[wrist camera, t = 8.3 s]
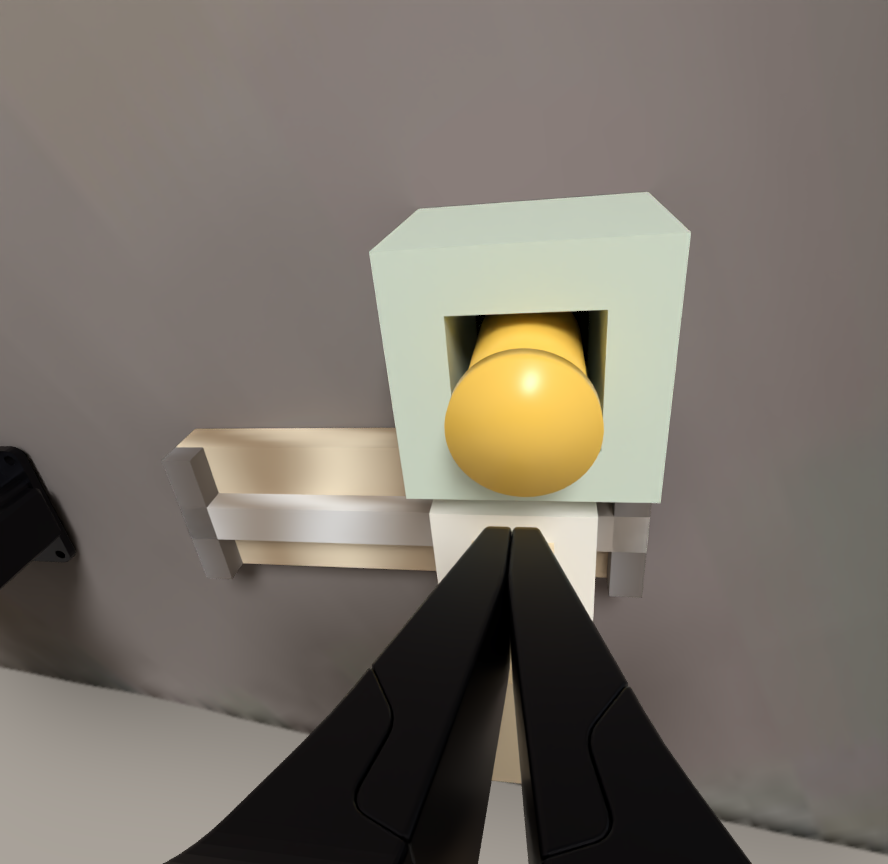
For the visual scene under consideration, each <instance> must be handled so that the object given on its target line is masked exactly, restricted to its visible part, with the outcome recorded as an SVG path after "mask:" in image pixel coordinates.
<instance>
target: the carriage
mask: <svg viewBox="0 0 888 864" xmlns="http://www.w3.org/2000/svg"><path fill="white" fill-rule="evenodd" d="M429 517H430V524H431V532H432V540H433V548H434V555H435V563H436V571H437V578H438V584H439V583H440V582H441V580H442V579H443V578H444V577H445V576H446V574H447V573H448V572H449V571H450V569H451V568H452V567H453V566H454V565H455V563H456V562H457V561H458V560H459V559H460V557H461V556H462V555H463V554H464V552H465V551H466V550H467V549H468V548H469V546H470V545H471V544H472V543H473V542H474V540H475V539H476V538H477V537H478V535H479V534H480V533H481V532H482V531H483V529H484V528H486V527H488V526H503V527H510V528H511V530H512V531H513V529H514V528H515V527H536V528H538V529H539V530H540V531H541V532H542V534H543V536H544V538H545V539H546V541H547V543H548V545H549V546H550V548H551V550H552V552H553V553H554V555H555V557H556V559H557V560H558V562H559V564H560V566H561V567H562V569H563V571H564V572H565V574H566V576H567V578H568V579H569V581H570V583H571V585H572V586H573V588H574V590H575V592H576V593H577V595H578V597H579V599H580V600H581V602H582V604H583V606H584V607H585V609H586V611H587V613H588V614H589V616H590V618H591V620H592V621H593V611H594V590H595V570H596V549H597V528H598V513H597V505H596V502H570V501H512V500H454V499H433V502H432V506H431V509H430V513H429ZM492 781H501V782H510V783H520V784H521V772H520V761H519V750H518V739H517V728H516V716H515V705H514V694H513V683H512V665H511V660H510V671H509V678H508V685H507V691H506V697H505V703H504V709H503V715H502V721H501V727H500V733H499V739H498V745H497V751H496V757H495V763H494V769H493V775H492Z"/></svg>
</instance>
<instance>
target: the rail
mask: <svg viewBox="0 0 888 864" xmlns="http://www.w3.org/2000/svg"><path fill="white" fill-rule="evenodd" d="M161 462H162V464H163V467H164V469H165V472H166V474H167V477H168V480H169V482H170V485H171V487H172V490H173V492H174V495H175V498H176V500H177V503H178V505H179V508H180V510H181V513H182V515H183V518H184V521H185V523H186V526H187V528H188V531H189V533H190V536H191V539H192V541H193V544H194V546H195V549H196V551H197V554H198V557H199V559H200V562H201V564H202V567H203V569H204V572H205V575H206V577H207V578H215V579H233V578H234V576H235V575H236V573H237V571H238V570H239V568H240V567H241V565H242V564H243V563H251V564H276V565H301V566H327V567H352V568H377V569H402V570H428V571H436V563H435V555H434V548H433V540H432V532H431V524H430V517H429V513H430V509H431V506H432V502H433V499H406V493H405V486H404V480H403V473H402V466H401V460H400V453H399V446H398V440H397V433H396V428H257V429H195V430H194V431H192V432H191V433H190V434H189V435H188V436H187V437H186V438H185V439H184V440H183V441H182V442H181V443H180V444H179V445H178V446H177V447H175V448H174V449H173V450H172V451H171V452H170V453H169V454H168V455H167V456H166V457H165V458H164V459H163V460H162V461H161ZM596 505H597V513H598V528H597V549H596V570H595V577H605V578H607V584H608V592H609V596H615V597H637V598H642V592H643V582H644V573H645V563H646V553H647V544H648V534H649V524H650V515H651V505H652V503H628V502H596Z"/></svg>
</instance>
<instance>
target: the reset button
mask: <svg viewBox="0 0 888 864" xmlns="http://www.w3.org/2000/svg"><path fill="white" fill-rule="evenodd" d="M444 429H445V438H446V443H447V446H448V449H449V451H450V453H451V455H452V457H453V459H454V460H455V462H456V463H457V465H458V466H459V467H460V468H461V470H462V471H463V472H464V473H465V474H466V475H467V476H469V477H470V478H471V479H472V480H474V481H475V482H477V483H478V484H480V485H481V486H483V487H485V488H487V489H490V490H492V491H494V492H497V493H501V494H504V495H510V496H517V497H535V496H542V495H547V494H550V493H554V492H557V491H559V490H562V489H564V488H566V487H568V486H570V485H571V484H573V483H574V482H576V481H577V480H579V479H580V478H581V477H582V476H583V475H584V474H585V473H586V472H587V471H588V470H589V469H590V467H591V466H592V465H593V463H594V462H595V460H596V459H597V456H598V454H599V452H600V449H601V446H602V443H603V436H604V422H603V416H602V411H601V405H600V400H599V397H598V395H597V392H596V390H595V388H594V386H593V384H592V383H591V381H590V380H589V379H588V377H587V373H586V366H585V359H584V352H583V345H582V338H581V332H580V328H579V325H578V322H577V320H576V318H575V316H574V315H573V314H572V312H571V311H564V312H539V313H514V314H489V315H486V317H485V318H484V320H483V322H482V325H481V327H480V331H479V334H478V337H477V341H476V344H475V348H474V351H473V355H472V358H471V362H470V365H469V369H468V370H467V371H466V372H465V373H464V375H463V376H462V377H461V378H460V380H459V381H458V383H457V384H456V386H455V388H454V390H453V393H452V395H451V398H450V401H449V405H448V408H447V411H446V415H445V423H444Z"/></svg>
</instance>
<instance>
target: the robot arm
mask: <svg viewBox="0 0 888 864" xmlns="http://www.w3.org/2000/svg"><path fill="white" fill-rule="evenodd" d="M75 553H76V552H75V549H74V547H73V545H72V543H71V541H70V539H69V537H68V535H67V533H66V532H65V530H64V528H63V526H62V524H61V522H60V520H59V518H58V516H57V514H56V512H55V510H54V509H53V507H52V505H51V503H50V501H49V499H48V497H47V495H46V493H45V491H44V489H43V488H42V486H41V484H40V482H39V480H38V478H37V476H36V474H35V472H34V470H33V468H32V466H31V465H30V463H29V461H28V459H27V457H26V455H25V454H24V452H22V451H21V450H20V449H18V448H16V447H12V446H0V589H2V588H3V587H4V586H5V585H6V584H7V583H8V582H9V581H10V580H12V579H13V578H14V577H15V576H16V575H17V574H18V573H19V572H20V571H22V570H23V569H24V568H25V567H26V566H27V565H28V564H29V563H30V562H32V561H50V562H68V561H69V560H70V559H71V558H72V557H73V556H74V555H75ZM510 660H511V665H512V683H513V694H514V705H515V716H516V728H517V739H518V750H519V761H520V772H521V784H522V795H523V806H524V817H525V828H526V839H527V851H528V862H529V864H752V863H751V862H750V861H749V859H748V858H747V857H746V855H745V854H744V852H743V851H742V850H741V848H740V847H739V846H738V844H737V843H736V842H735V841H734V839H733V838H732V836H731V835H730V834H729V832H728V831H727V829H726V828H725V827H724V825H723V824H722V823H721V821H720V820H719V819H718V817H717V816H716V815H715V813H714V812H713V811H712V809H711V808H710V807H709V805H708V804H707V803H706V801H705V800H704V798H703V797H702V796H701V794H700V793H699V792H698V790H697V789H696V788H695V786H694V785H693V784H692V782H691V781H690V779H689V778H688V777H687V775H686V774H685V772H684V771H683V769H682V768H681V767H680V765H679V764H678V762H677V761H676V759H675V758H674V757H673V755H672V754H671V752H670V751H669V750H668V748H667V747H666V745H665V744H664V742H663V740H662V739H661V737H660V736H659V734H658V732H657V731H656V729H655V727H654V726H653V724H652V723H651V721H650V719H649V718H648V716H647V715H646V713H645V711H644V710H643V708H642V706H641V704H640V703H639V701H638V699H637V697H636V696H635V694H634V692H633V690H632V689H631V688H630V687H628V682H627V681H626V679H625V677H624V675H623V674H622V672H621V670H620V668H619V667H618V665H617V663H616V661H615V660H614V658H613V656H612V654H611V653H610V651H609V649H608V647H607V646H606V644H605V642H604V640H603V639H602V637H601V635H600V633H599V632H598V630H597V628H596V627H595V625H594V623H593V621H592V620H591V618H590V616H589V614H588V613H587V611H586V609H585V607H584V606H583V604H582V602H581V600H580V599H579V597H578V595H577V593H576V592H575V590H574V588H573V586H572V585H571V583H570V581H569V579H568V578H567V576H566V574H565V572H564V571H563V569H562V567H561V566H560V564H559V562H558V560H557V559H556V557H555V555H554V553H553V552H552V550H551V548H550V546H549V545H548V543H547V541H546V539H545V538H544V536H543V534H542V532H541V531H540V530H539V529H538V528H536V527H515V528H514V529H513V531H512V530H511V528H510V527H503V526H488V527H486V528H484V529H483V531H482V532H481V533H480V534H479V535H478V537H477V538H476V539H475V540H474V542H473V543H472V544H471V545H470V546H469V548H468V549H467V550H466V551H465V552H464V554H463V555H462V556H461V557H460V559H459V560H458V561H457V562H456V563H455V565H454V566H453V567H452V568H451V569H450V571H449V572H448V573H447V574H446V576H445V577H444V578H443V579H442V580H441V582H440V583H439V584H438V585H437V586H436V588H435V589H434V590H433V591H432V593H431V594H430V595H429V596H428V597H427V599H426V600H425V601H424V602H423V603H422V605H421V606H420V607H419V608H418V610H417V611H416V612H415V613H414V614H413V616H412V617H411V618H410V619H409V620H408V622H407V623H406V624H405V625H404V627H403V628H402V629H401V630H400V631H399V633H398V634H397V635H396V636H395V638H394V639H393V640H392V641H391V642H390V644H389V645H388V646H387V647H386V648H385V650H384V651H383V652H382V653H381V654H380V656H379V657H378V658H377V659H376V661H375V662H374V663H373V664H372V668H369V669H368V670H367V671H366V672H365V673H364V675H363V676H362V677H361V678H360V680H359V681H358V682H357V683H356V685H355V686H354V687H353V688H352V689H351V690H350V692H349V693H348V694H347V695H346V696H345V697H344V698H343V700H342V701H341V702H340V703H339V704H338V705H337V706H336V708H335V709H334V710H333V711H332V712H331V713H330V714H329V715H328V716H327V717H326V719H325V720H324V721H323V722H322V723H321V724H320V725H319V726H318V727H317V728H316V729H315V730H314V731H313V732H312V733H311V734H310V735H309V736H308V737H307V738H306V739H305V740H304V741H303V742H302V743H301V744H300V745H299V746H298V747H297V748H296V749H295V750H294V751H293V752H292V753H291V754H290V755H289V756H288V757H287V758H286V759H285V760H284V761H283V762H282V763H281V764H280V765H279V766H278V767H277V768H276V769H275V770H274V771H273V772H272V773H271V774H270V775H269V776H267V777H266V779H264V780H263V782H261V783H260V784H259V785H258V786H257V787H256V788H255V789H254V790H253V791H252V792H251V793H250V794H249V795H248V796H247V797H246V798H245V799H244V800H243V801H242V802H241V803H240V804H239V805H238V806H237V807H236V808H235V809H234V810H233V811H232V812H231V813H230V814H229V815H228V816H227V817H226V818H224V820H223V821H221V822H220V823H219V824H218V825H217V826H216V827H215V828H214V829H212V830H211V831H210V832H209V833H208V834H206V835H205V836H204V837H203V838H201V839H200V840H199V841H198V842H197V843H195V844H194V845H192V846H191V847H189V848H188V849H187V850H185V851H184V852H182V853H181V854H179V855H178V856H176V857H174V858H172V859H171V860H169V861H167V862H166V863H163V864H478V860H479V854H480V848H481V842H482V836H483V830H484V824H485V817H486V812H487V805H488V800H489V793H490V787H491V781H492V775H493V769H494V763H495V757H496V751H497V745H498V739H499V733H500V727H501V721H502V715H503V709H504V703H505V697H506V691H507V685H508V678H509V671H510Z"/></svg>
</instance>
